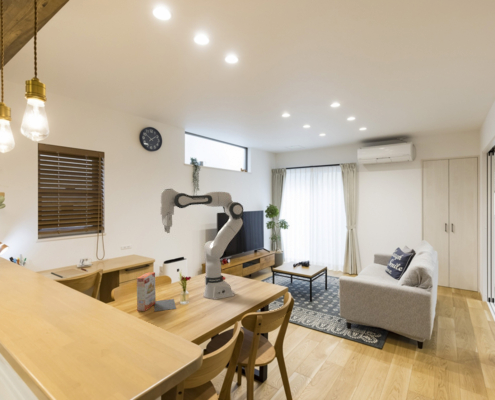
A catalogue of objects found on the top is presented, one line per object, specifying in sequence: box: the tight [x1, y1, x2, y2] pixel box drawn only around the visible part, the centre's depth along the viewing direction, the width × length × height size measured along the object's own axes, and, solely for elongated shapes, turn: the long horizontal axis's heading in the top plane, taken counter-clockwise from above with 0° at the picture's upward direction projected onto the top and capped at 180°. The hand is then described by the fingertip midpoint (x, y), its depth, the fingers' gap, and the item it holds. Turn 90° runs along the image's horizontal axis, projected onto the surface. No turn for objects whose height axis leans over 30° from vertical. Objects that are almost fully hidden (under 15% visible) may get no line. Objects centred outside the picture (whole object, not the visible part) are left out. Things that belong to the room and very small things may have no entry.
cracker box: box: [136, 271, 157, 312], centre depth 181 cm, size 14×6×21 cm, turn 171°
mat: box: [153, 298, 177, 312], centre depth 185 cm, size 13×18×1 cm
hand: (167, 232), depth 193 cm, fingers open, 8 cm apart
